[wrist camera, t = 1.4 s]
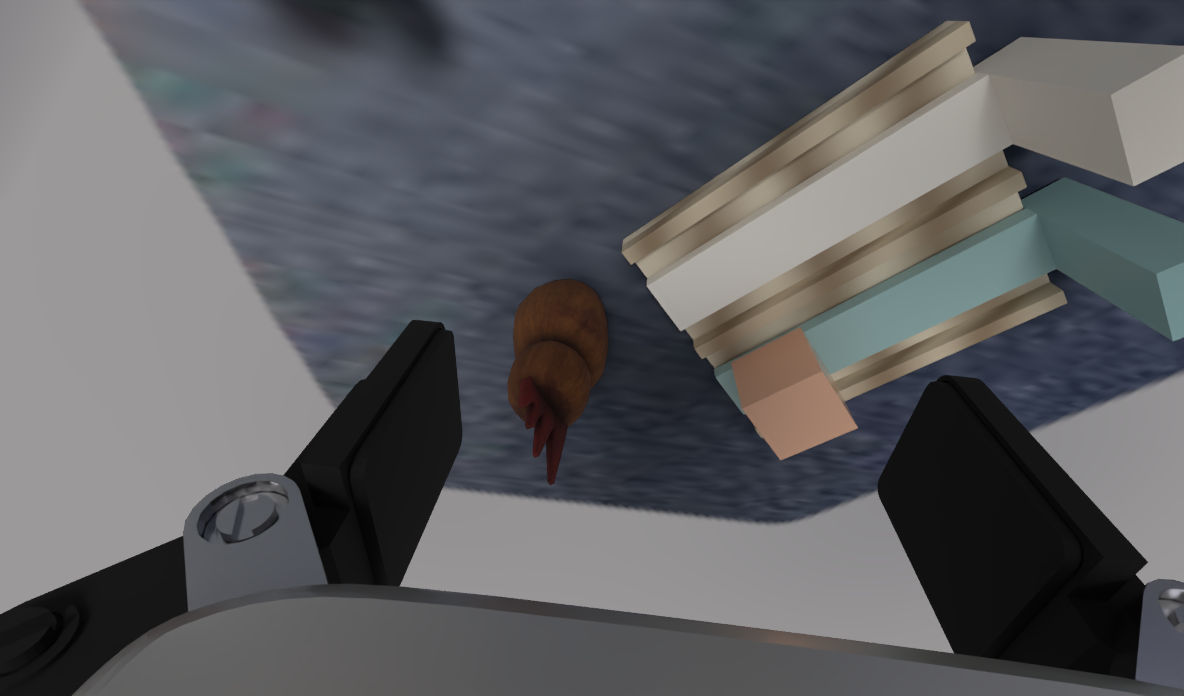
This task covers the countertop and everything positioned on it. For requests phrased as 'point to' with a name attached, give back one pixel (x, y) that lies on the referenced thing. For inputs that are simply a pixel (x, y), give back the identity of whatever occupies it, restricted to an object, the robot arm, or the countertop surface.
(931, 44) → the lane board
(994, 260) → the teal strip
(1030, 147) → the white l-shaped bar
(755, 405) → the terracotta block
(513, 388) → the wooden figurine
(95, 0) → the countertop surface
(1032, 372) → the countertop surface
